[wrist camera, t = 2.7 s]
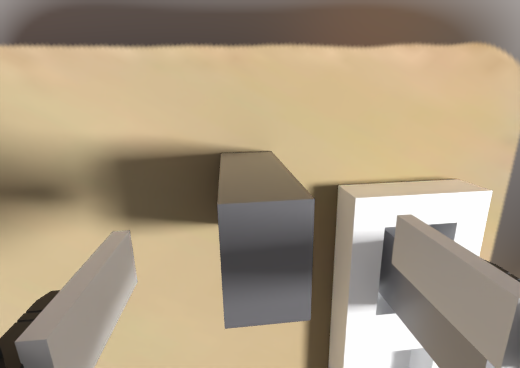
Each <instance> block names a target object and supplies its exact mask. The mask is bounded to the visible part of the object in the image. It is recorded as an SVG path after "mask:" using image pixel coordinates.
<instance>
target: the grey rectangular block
mask: <svg viewBox="0 0 520 368" xmlns="http://www.w3.org/2000/svg"><path fill="white" fill-rule="evenodd" d="M314 204H315V199H314V198H313V197H312V195H311V194H310V193H309V192H308V191H307V190H306V189H305V188H304V187H303V186H302V184H301V183H300V182H299V181H298V180H297V179H296V178H295V177H294V176H293V175H292V173H291V172H290V171H289V170H288V169H287V168H286V167H285V166H284V165H283V164H282V162H281V161H280V160H279V159H278V158H277V157H276V156H275V155H274V154H273V153H272V151H266V152H239V153H221V159H220V173H219V187H218V201H217V208H218V225H219V241H220V257H221V273H222V290H223V306H224V322H225V329H227V328H237V327H247V326H257V325H267V324H277V323H287V322H298V321H308V320H311V295H312V265H313V234H314Z"/></svg>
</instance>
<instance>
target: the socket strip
mask: <svg viewBox="0 0 520 368" xmlns="http://www.w3.org/2000/svg"><path fill="white" fill-rule="evenodd" d="M491 196H492V190H489V189H486V188H484V187H481V186H478V185H475V184H472V183H469V182H466V181H463V180H460V179H450V180H430V181H411V182H391V183H371V184H352V185H338V201H337V219H336V237H335V255H334V273H333V292H332V310H331V328H330V346H329V364H328V368H495V367H494V366H493V365H492V364H491V363H490V362H489V361H488V360H487V359H486V358H485V357H484V356H483V355H482V354H481V353H480V352H479V351H478V350H477V349H476V348H475V347H474V346H473V345H472V344H471V343H470V342H469V341H468V340H467V339H466V338H465V337H464V336H463V335H462V334H461V333H460V332H459V331H458V330H457V329H456V328H455V327H454V326H453V325H452V324H451V323H450V322H449V321H448V320H447V319H446V318H445V317H444V316H443V315H442V314H441V313H440V312H439V311H438V310H437V309H436V308H435V307H434V306H433V305H432V304H431V303H430V302H429V301H428V300H427V299H426V298H425V297H424V296H423V295H422V293H421V292H420V291H419V290H418V289H417V288H416V287H415V286H414V285H413V284H412V283H411V282H410V281H409V280H408V279H407V278H406V277H405V276H404V275H403V274H402V273H401V272H400V271H399V270H398V269H397V268H396V267H395V266H394V265H393V264H392V255H393V246H394V238H395V229H396V220H397V215H408V214H412V215H413V216H415V217H417V218H418V219H420V220H421V221H423V222H424V223H426V224H428V225H429V226H431V227H432V228H434V229H436V230H437V231H439V232H440V233H442V234H444V235H445V236H447V237H448V238H450V239H452V240H453V241H455V242H456V243H458V244H460V245H461V246H463V247H464V248H466V249H468V250H469V251H471V252H472V253H474V254H476V255H477V256H479V255H480V250H481V245H482V240H483V235H484V230H485V225H486V220H487V215H488V210H489V206H490V201H491Z"/></svg>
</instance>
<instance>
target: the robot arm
mask: <svg viewBox="0 0 520 368" xmlns="http://www.w3.org/2000/svg"><path fill="white" fill-rule="evenodd" d="M392 264H393V265H394V266H395V267H396V268H397V269H398V270H399V271H400V272H401V273H402V274H403V275H404V276H405V277H406V278H407V279H408V280H409V281H410V282H411V283H412V284H413V285H414V286H415V287H416V288H417V289H418V290H419V291H420V292H421V293H422V295H423V296H424V297H425V298H426V299H427V300H428V301H429V302H430V303H431V304H432V305H433V306H434V307H435V308H436V309H437V310H438V311H439V312H440V313H441V314H442V315H443V316H444V317H445V318H446V319H447V320H448V321H449V322H450V323H451V324H452V325H453V326H454V327H455V328H456V329H457V330H458V331H459V332H460V333H461V334H462V335H463V336H464V337H465V338H466V339H467V340H468V341H469V342H470V343H471V344H472V345H473V346H474V347H475V348H476V349H477V350H478V351H479V352H480V353H481V354H482V355H483V356H484V357H485V358H486V359H487V360H488V361H489V362H490V363H491V364H492V365H493V366H494V367H495V368H520V279H519V278H517V277H515V276H514V275H512V274H510V273H509V272H508V271H506V270H504V269H503V268H501V267H499V266H498V265H496V264H493V263H491V262H489V261H486V260H484V259H482V258H480V257H479V256H477V255H476V254H474V253H472V252H471V251H469V250H468V249H466V248H464V247H463V246H461V245H460V244H458V243H456V242H455V241H453V240H452V239H450V238H448V237H447V236H445V235H444V234H442V233H440V232H439V231H437V230H436V229H434V228H432V227H431V226H429V225H428V224H426V223H424V222H423V221H421V220H420V219H418V218H417V217H415V216H413V215H412V214H408V215H397V220H396V229H395V238H394V246H393V255H392ZM137 282H138V281H137V275H136V268H135V261H134V255H133V248H132V242H131V235H130V230H127V231H113V232H112V233H111V234H110V235H109V236H108V237H107V238H106V240H105V241H104V242H103V243H102V244H101V245H100V246H99V247H98V249H97V250H96V251H95V252H94V253H93V254H92V255H91V256H90V258H89V259H88V260H87V261H86V262H85V263H84V264H83V265H82V267H81V268H80V269H79V270H78V271H77V272H76V273H75V274H74V276H73V277H72V278H71V279H70V280H69V281H68V282H67V283H66V285H65V286H64V287H63V288H62V289H61V290H58V291H51V292H49V293H48V294H46V295H44V296H43V297H41V298H40V299H38V300H37V301H36V302H35V303H34V304H33V305H32V306H31V307H30V308H29V309H28V310H27V311H26V313H25V314H23V315H22V316H21V317H20V318H19V319H18V320H17V323H15V324H14V325H13V326H12V327H11V328H10V329H9V330H8V331H7V332H6V333H5V334H4V335H3V336H2V337H1V338H0V368H94V367H95V365H96V363H97V361H98V359H99V357H100V355H101V353H102V351H103V349H104V347H105V345H106V343H107V341H108V339H109V337H110V335H111V333H112V331H113V329H114V327H115V325H116V323H117V321H118V319H119V317H120V315H121V313H122V311H123V309H124V307H125V306H126V304H127V302H128V300H129V298H130V296H131V294H132V292H133V290H134V288H135V286H136V284H137Z"/></svg>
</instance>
